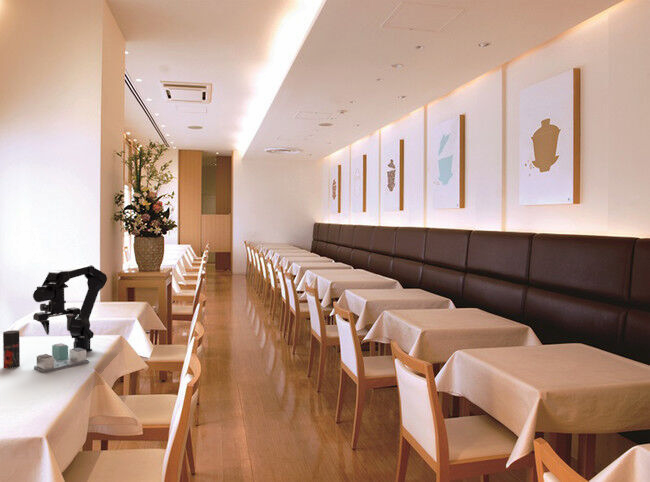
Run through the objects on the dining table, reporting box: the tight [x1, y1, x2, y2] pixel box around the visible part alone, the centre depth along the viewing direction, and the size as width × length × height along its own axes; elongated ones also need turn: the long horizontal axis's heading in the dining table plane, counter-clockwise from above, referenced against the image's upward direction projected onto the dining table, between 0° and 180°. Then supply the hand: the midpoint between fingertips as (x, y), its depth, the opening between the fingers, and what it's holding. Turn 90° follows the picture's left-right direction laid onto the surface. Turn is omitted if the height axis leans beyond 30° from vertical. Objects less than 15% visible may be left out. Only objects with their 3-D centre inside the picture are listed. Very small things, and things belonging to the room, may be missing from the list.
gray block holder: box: [33, 347, 90, 374], centre depth 216 cm, size 19×9×6 cm, turn 144°
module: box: [51, 342, 69, 361], centre depth 227 cm, size 4×6×6 cm, turn 54°
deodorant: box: [2, 329, 21, 369], centre depth 214 cm, size 6×6×15 cm
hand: (58, 332), depth 227 cm, fingers open, 9 cm apart
